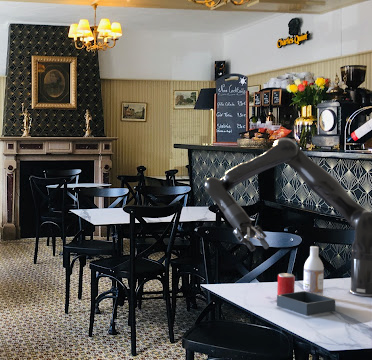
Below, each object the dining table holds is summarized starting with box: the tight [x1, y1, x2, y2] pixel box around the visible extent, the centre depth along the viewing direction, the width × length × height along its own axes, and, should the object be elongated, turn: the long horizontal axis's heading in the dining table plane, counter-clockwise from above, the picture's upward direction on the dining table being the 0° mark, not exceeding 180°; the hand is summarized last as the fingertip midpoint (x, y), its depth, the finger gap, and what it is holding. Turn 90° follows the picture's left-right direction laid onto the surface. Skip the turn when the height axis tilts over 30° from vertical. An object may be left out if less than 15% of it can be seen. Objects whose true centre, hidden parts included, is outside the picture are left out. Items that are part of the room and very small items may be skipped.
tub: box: [276, 290, 336, 316], centre depth 213 cm, size 14×14×5 cm
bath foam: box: [303, 245, 325, 296], centre depth 230 cm, size 7×7×20 cm
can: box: [276, 272, 296, 296], centre depth 225 cm, size 6×6×10 cm
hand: (260, 249), depth 233 cm, fingers open, 8 cm apart
